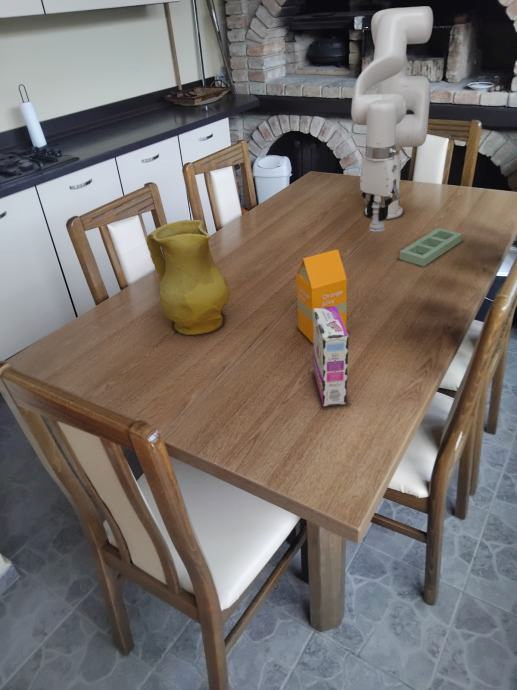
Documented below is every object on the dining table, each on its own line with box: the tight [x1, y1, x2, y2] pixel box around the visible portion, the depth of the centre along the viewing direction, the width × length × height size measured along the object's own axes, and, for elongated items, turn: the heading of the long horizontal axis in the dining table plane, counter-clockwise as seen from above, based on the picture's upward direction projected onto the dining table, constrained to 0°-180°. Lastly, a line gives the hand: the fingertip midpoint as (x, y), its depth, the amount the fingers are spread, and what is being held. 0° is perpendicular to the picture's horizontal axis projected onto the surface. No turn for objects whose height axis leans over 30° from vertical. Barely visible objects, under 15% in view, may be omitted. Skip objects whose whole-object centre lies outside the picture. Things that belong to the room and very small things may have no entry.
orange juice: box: [295, 248, 348, 345], centre depth 123 cm, size 8×9×20 cm
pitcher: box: [146, 219, 231, 336], centre depth 130 cm, size 17×19×25 cm
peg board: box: [398, 227, 463, 267], centre depth 158 cm, size 8×21×2 cm, turn 135°
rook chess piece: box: [368, 201, 386, 234], centre depth 152 cm, size 4×4×8 cm
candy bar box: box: [313, 306, 350, 408], centre depth 106 cm, size 11×5×16 cm, turn 5°
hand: (376, 217), depth 152 cm, fingers closed on rook chess piece, 3 cm apart
